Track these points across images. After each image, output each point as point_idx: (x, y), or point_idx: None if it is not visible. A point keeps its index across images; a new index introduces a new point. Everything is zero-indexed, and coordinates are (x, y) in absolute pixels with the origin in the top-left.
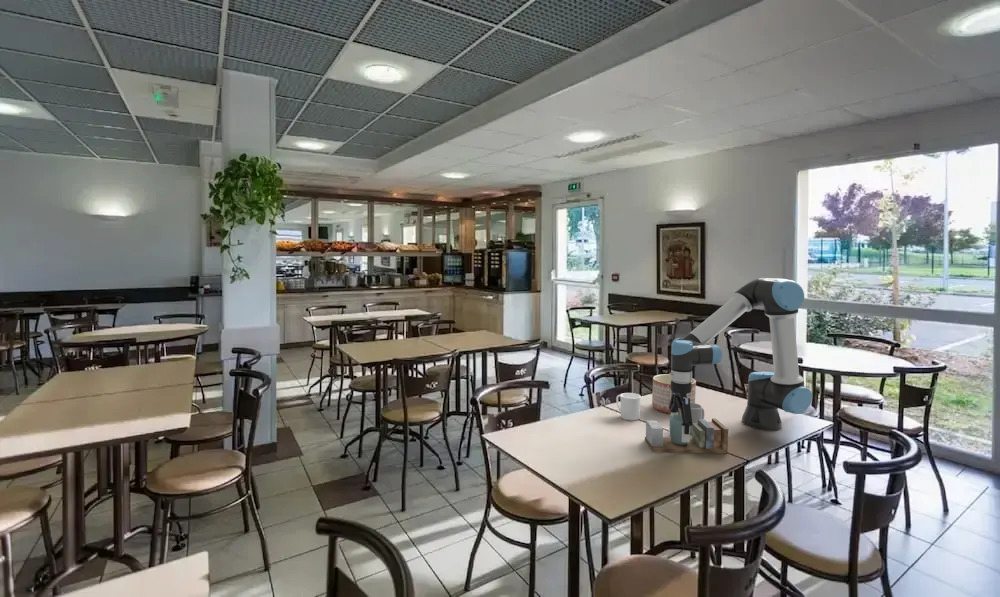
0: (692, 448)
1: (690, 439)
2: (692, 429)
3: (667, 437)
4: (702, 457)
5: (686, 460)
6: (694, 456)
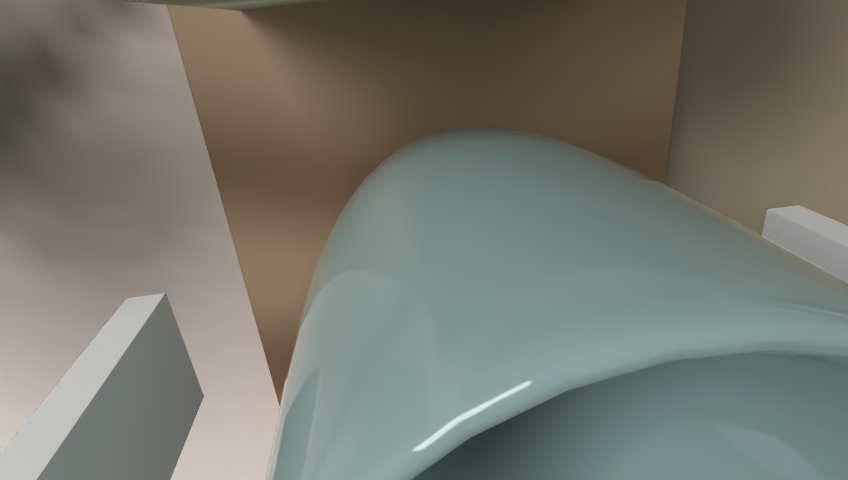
0: (638, 104)
1: (272, 45)
2: (190, 4)
3: (274, 354)
4: (798, 7)
5: (831, 218)
6: (754, 106)
